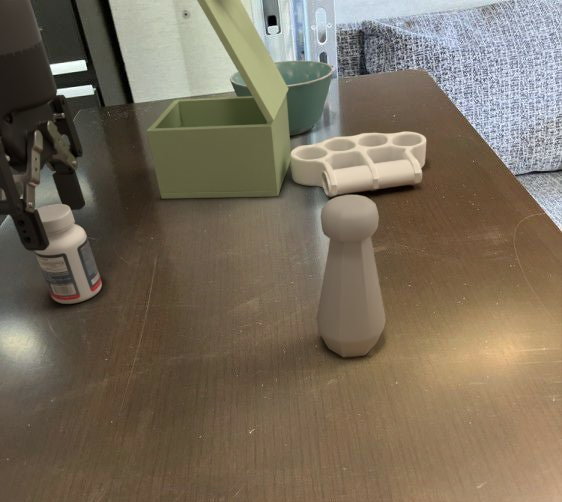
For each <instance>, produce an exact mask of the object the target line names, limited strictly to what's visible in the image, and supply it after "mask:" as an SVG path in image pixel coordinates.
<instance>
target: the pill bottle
mask: <svg viewBox="0 0 562 502" xmlns="http://www.w3.org/2000/svg"><path fill="white" fill-rule="evenodd" d="M36 209H37V210H38V212H39V215H40V218H41V221H42V224H43V226H44V229H45V232H46V235H47V237H48V240H49V246H48V247H47V248H46V249H45V250H44V251H33V252H34V254H35V257H36V260H37V263H38V265H39V268H40V271H41V273H42V276H43V278H44V281H45V283H46V286H47V288H48V291H49V294H50V296H51V298H52V299H53V300H54V301H55V302H57V303H60V304H63V305H73V304H79V303H82V302H84V301H85V302H86V301H88V300H89V299H91V298H93V297H95V296H96V295H97V294H98V293H99V292H100V291H101V289H102V286H103V283H102V279H101V275H100V272H99V270H98V266H97V264H96V260H95V257H94V253H93V251H92V248H91V245H90V241H89V238H88V236H87V232H86V231H85V230H84V228H83V227H81V225H79V224H76V223H75V222H76V220H75V218H74V215H73V212H72V211H73V210H71V209H70V207H69V206H68V205H65V204H62V203H53V204H47V205H43V206H40V207H38V208H36Z"/></svg>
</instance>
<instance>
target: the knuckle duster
mask: <svg viewBox="0 0 562 502" xmlns="http://www.w3.org/2000/svg"><path fill="white" fill-rule="evenodd" d="M426 152H427V138H426V136H425V135H423V134H422V133H418V132H415V131H400V132H393V133H384V132H383V133H381V132H362V133H360V134H359V133H358V134H356V135H350V136H349V135H348V136H335V137H332V138H331V137H330V138H327V139H325V140H323V141H320V142H317V143H313V144H306V145H305V144H304V145H303V144H302V145H299V146H297V147H295V148H293V149H292V150H291V154H290V159H291V161H290V171H291V172H290V173H291V179H292V181H293V182H294V183H295V184H298V185H301V186H305V187H307V186H309V187H320V188H322V189H323V191H324V193H325V195H326V196H327V197H330V198H334V197H336V196H337V195H347V194H353V193H361V192H367V191H368V192H369V191H370V192H374V191H377V190H381V189H389V188H390V189H391V188H396V187H402V186H403V187H404V186H417V185H418V184H421V183H422V182H423V170H422V169H423V168H424V166H425V164H426V154H427V153H426Z"/></svg>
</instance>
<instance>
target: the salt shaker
mask: <svg viewBox="0 0 562 502" xmlns="http://www.w3.org/2000/svg"><path fill="white" fill-rule="evenodd" d="M320 210H321V212H320V223H321V224H320V225H321V231H322V233H323V235H324V236H325V237H327V238H329V242H328V243H329V244H328V251H327V255H326V262H325V267H324V274H323V280H322V285H321V291H320V296H319V302H318V307H317V308H318V309H317V313H316V314H317V315H316V326H317V330H318V333H319V335H320V337H321V338H322V340H323V341H324V343H325V345H326V347H327V348H328V349H329V350H330V351H332V352H334V353H335V354H337V355H338V356H341V357H342V358H352V357H363V356H366V355H367V354H368V353H369V352H370V351H371V350H372V349H373V348H374V347H375V346H376V345H377V343H378V341H379V339H380V337H381V336H382V333H383V331H384V329H385V327H386V323H387V318H386V313H385V307H384V303H383V297H382V291H381V286H380V280H379V275H378V269H377V263H376V258H375V257H376V256H375V252H374V246H373V241H372V236H373V235H374V234H375V233H376V232H377V230H378V227H379V221H380V220H379V219H380V217H379V210H378V207H377V205H376V202H374V201H373V200H372V199H370V198H368V197H367V196H364V195H359V194H343V195H339V196H334V197H332V198H331V199H329V200H328V201H327V202H326V203H325V204H324V206H323V207H322V208H321V209H320Z"/></svg>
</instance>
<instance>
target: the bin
mask: <svg viewBox="0 0 562 502" xmlns="http://www.w3.org/2000/svg"><path fill="white" fill-rule="evenodd" d="M146 135H147V140H148V144H149V149H150V154H151V159H152V163H153V167H154V172H155V176H156V182H157V186H158V190H159V193H160V199H161V200H163V199H164V200H165V199H213V198H215V199H216V198H217V199H218V198H221V199H222V198H265V197H272V198H273V197H279V194H280V192H281V189H282V187H283V184H284V180H285V178H286V175H287V172H288V170H289V167H290V165H291V159H290V154H291V152H292V150H291V149H292V148H291V138H290V135H289V122H288V109H287V95H286V96H285V98H284V100H283V102H282V104H281V106H280V108H279V110H278V112H277V114H276V117H275V119H274V121H272V122H270V123H268V122H267V120H266V119H265V117H264V115H263V113H262V112H261V110H260V108H259V107H258V105H257V103H256V101H255V100H254V98H253V96H243V97H237V96H226V97H225V96H224V97H222V96H221V97H202V98H201V97H200V98H182V99H181V98H180V99H174V100H173V101H172V102H171V103H170V105H168V107H167V108H166V109H165V110H164V111H163V112H162V113H161V114H160V115H159V117H158V118H157V119H156V120H155V121H154V122H153V123H152V124H151V125H150V126H149V128H148V129H147V130H146Z"/></svg>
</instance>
